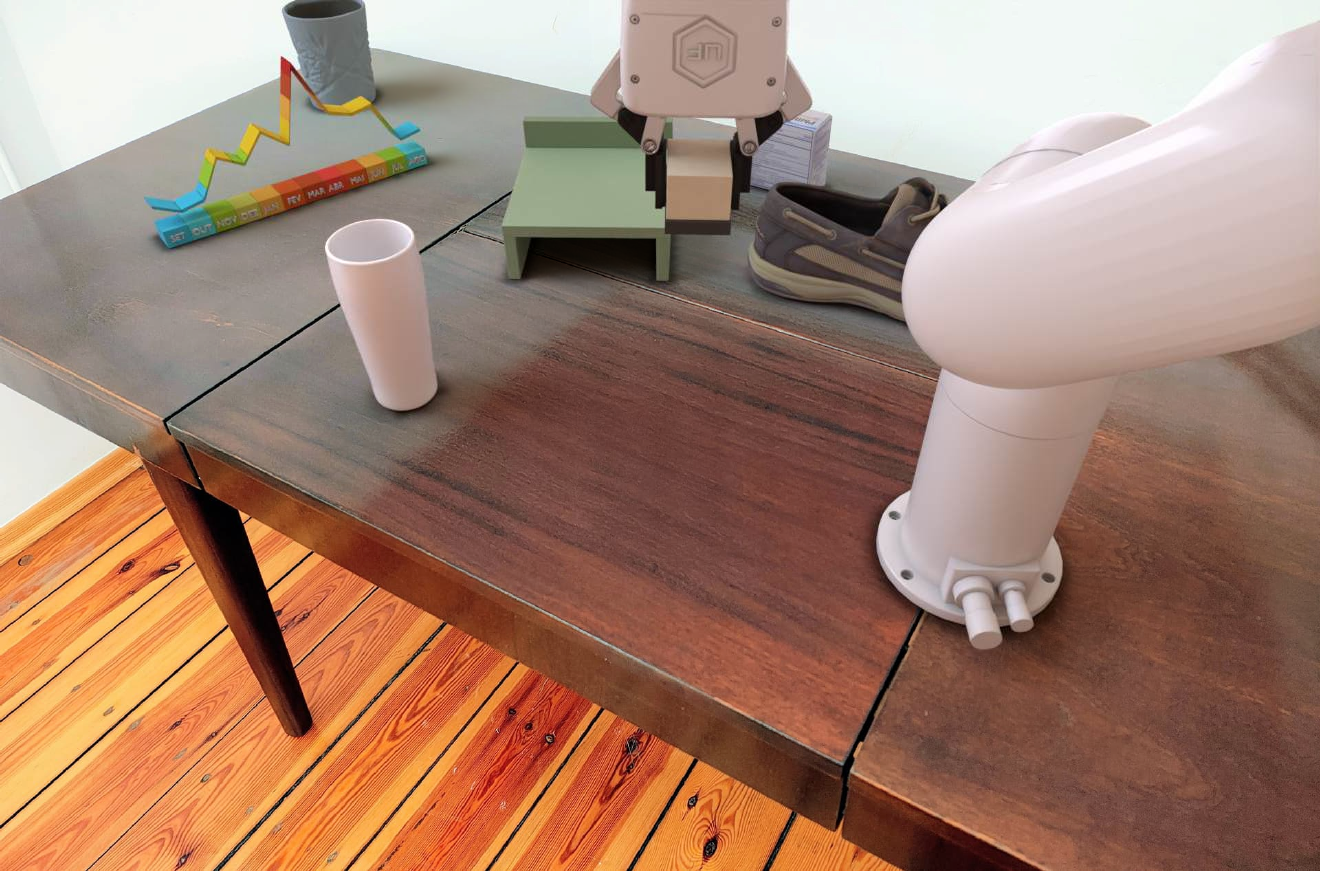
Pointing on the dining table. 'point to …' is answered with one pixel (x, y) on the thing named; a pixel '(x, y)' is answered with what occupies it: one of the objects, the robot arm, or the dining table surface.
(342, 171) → the chart
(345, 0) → the gray embossed pot
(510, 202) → the shelf
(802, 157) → the medicine box
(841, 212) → the boat shoe
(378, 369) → the drinking glass
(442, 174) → the dining table surface
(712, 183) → the tan two-tone block
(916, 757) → the dining table surface
